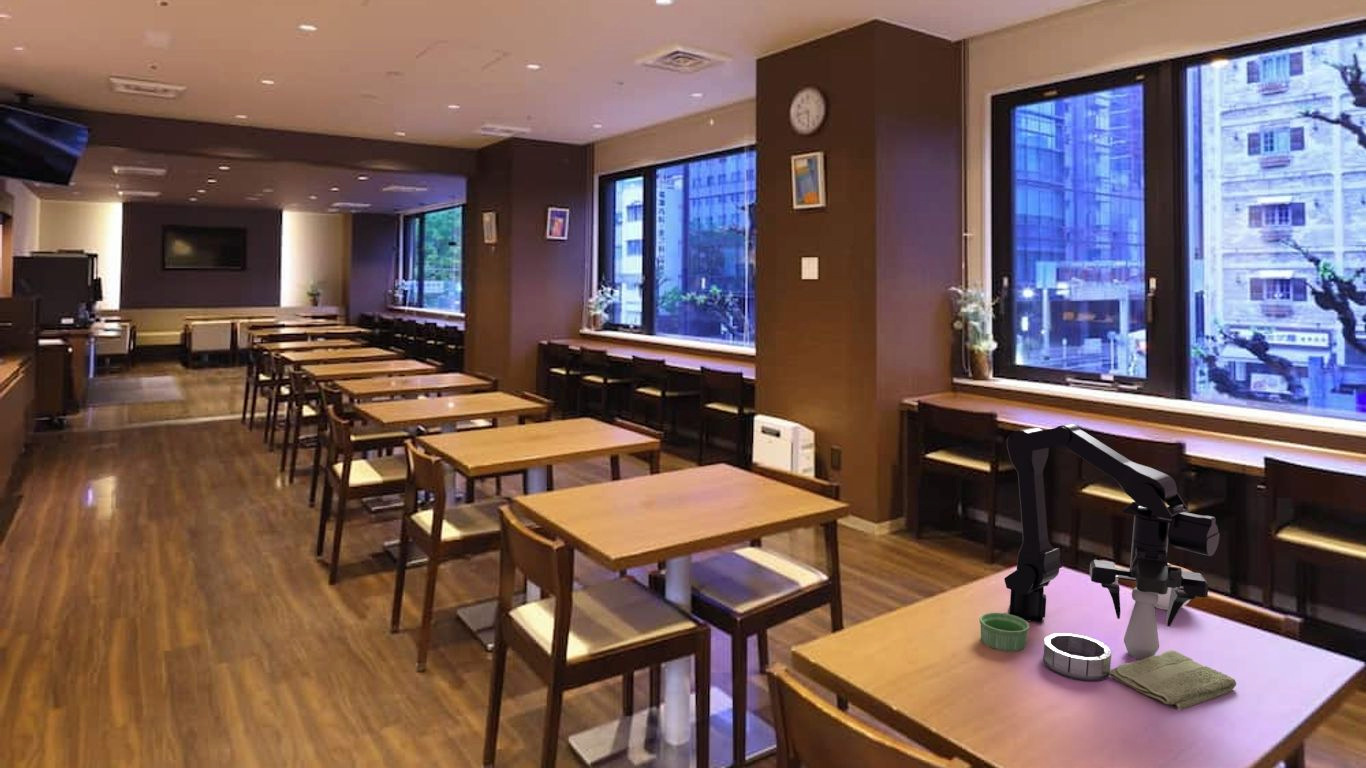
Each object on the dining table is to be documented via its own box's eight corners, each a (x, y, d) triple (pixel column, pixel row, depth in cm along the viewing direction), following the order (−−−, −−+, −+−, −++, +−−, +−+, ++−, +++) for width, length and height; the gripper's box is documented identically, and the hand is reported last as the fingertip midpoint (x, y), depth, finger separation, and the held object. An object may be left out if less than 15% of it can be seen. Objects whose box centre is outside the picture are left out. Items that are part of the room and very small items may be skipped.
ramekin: (977, 648, 155) (978, 626, 155) (979, 630, 164) (980, 609, 163) (1028, 657, 152) (1029, 634, 151) (1027, 638, 160) (1029, 616, 160)
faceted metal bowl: (1043, 674, 145) (1044, 652, 145) (1042, 649, 155) (1043, 629, 155) (1112, 686, 141) (1114, 664, 140) (1106, 660, 151) (1108, 639, 150)
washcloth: (1103, 679, 144) (1104, 662, 144) (1171, 662, 151) (1172, 645, 151) (1173, 715, 133) (1175, 696, 132) (1243, 694, 140) (1244, 677, 139)
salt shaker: (1149, 649, 156) (1155, 583, 154) (1163, 662, 150) (1169, 595, 148) (1117, 647, 156) (1122, 582, 155) (1130, 661, 151) (1136, 593, 149)
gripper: (1097, 547, 147) (1090, 629, 149) (1218, 562, 139) (1210, 648, 141) (1092, 530, 157) (1086, 607, 159) (1205, 543, 150) (1197, 624, 152)
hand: (1142, 621), depth 152 cm, fingers open, 8 cm apart
